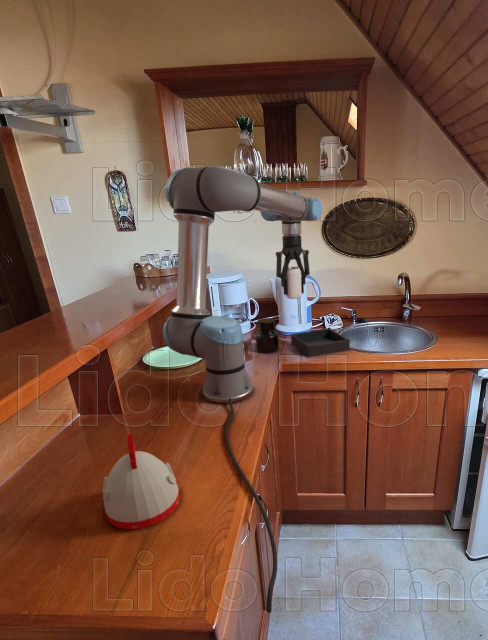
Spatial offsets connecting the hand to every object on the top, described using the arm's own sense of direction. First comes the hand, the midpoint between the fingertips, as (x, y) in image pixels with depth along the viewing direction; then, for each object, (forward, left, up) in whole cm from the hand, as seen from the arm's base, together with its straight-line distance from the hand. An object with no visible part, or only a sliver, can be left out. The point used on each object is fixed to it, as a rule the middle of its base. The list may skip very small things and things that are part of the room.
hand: (293, 293), depth 175 cm
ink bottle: (-11, +16, -19) cm, 27 cm away
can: (0, 0, -2) cm, 2 cm away
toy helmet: (-88, +68, -19) cm, 113 cm away
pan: (-17, -4, -19) cm, 26 cm away
